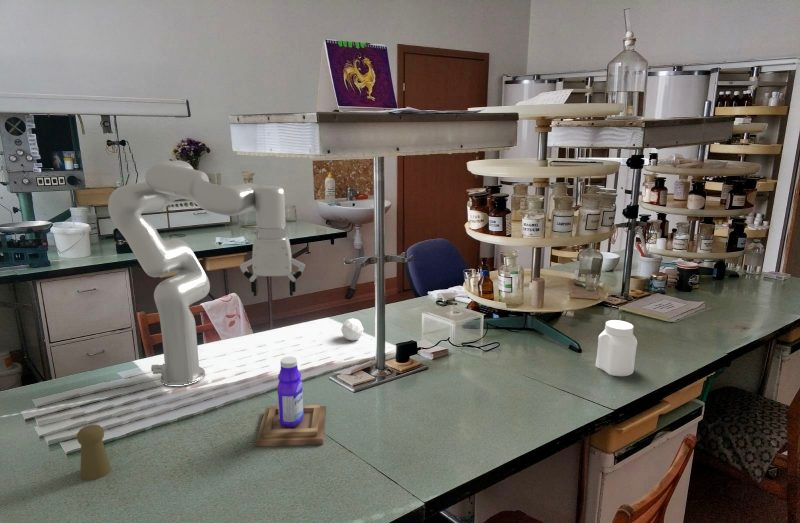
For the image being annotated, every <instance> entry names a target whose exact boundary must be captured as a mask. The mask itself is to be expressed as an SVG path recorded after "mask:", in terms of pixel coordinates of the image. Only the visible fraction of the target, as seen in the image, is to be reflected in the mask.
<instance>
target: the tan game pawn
mask: <svg viewBox="0 0 800 523" xmlns="http://www.w3.org/2000/svg"><path fill="white" fill-rule="evenodd" d="M104 436H105V431H104V429H103V427H102V426H101V425H100V424H88V425H86V426H84V427H82V428H80V429H79V430H78V431H77V434H76V438H77V442H78V444H79V445H80V478H81V479H82V480H84V481H96V480H99V479H101V478H103V477H105V476H106V475H108V474H109V473H110V471H111V469H112V467H111V465H110V461H109V458H108V455H107V452H106V448H105V445H104V442H103V439H104Z"/></svg>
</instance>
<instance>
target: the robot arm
mask: <svg viewBox="0 0 800 523" xmlns="http://www.w3.org/2000/svg"><path fill="white" fill-rule="evenodd" d="M144 178H145V181H144V182H136V183H129V184H125V185H122V186H120V187H118V188H116V189H114V190H113V191H112V192H111V194H110V195H109V198H108V203H107V204H108V205H107V208H108V214H109V217H110V219H111V221H112V223H113V224H114V227H116V228H117V230H118V231H119V232H120V234H121V235H122V236H123V238H124V239H125V241H126V242H127V244H128V245H129V248H130V249H131V251H132V253H133V254H134V256H135V258H136V260H137V262H138V263H139V265H140V266H141V269H143V271H144V272H145V274H146V275H147V276H149V277H152V278H158V277H159V278H160V277H163V276H166V275H169V274H172V273H174V276H172V277H168V278H166V279H164V280H162V281H161V282H159V284H158V285H156V287H155V288H154V292H153V299H154V303H155V306H156V309H157V311H158V317H159V323H160V329H161V330H160V332H161V339H162V340H161V341H162V349H163V360H164V363H162V364H151V367H150V370H151V371H150V372H152V374H153V375H158V374H160V383H161V382H162V383H164V384H167V385H184V384H189V383H192V382H195V381H197V380H199V379H201V378H202V377H204V375H205V376H206V371H205V369H204V368H202V367H201V366H200V363H199V362H200V361H199V351H198V339H197V338H198V337H197V336H198V335H197V327H196V326H197V325H196V320H195V317H194V314H193V313H192V311H191V310H190V306H191V305H192V304H195V303H196V302H198V301H201V300H202V299H204V298H205V297H207V296H208V294H209V292H210V288H211V283H210V280H209V277H208V275H207V274H206V272H205V270H204V269H203V267H202V265H201V263H200V261H199V260H198V258H197V256H196V254H195V253H194V251H193V249H192V248H191V246H190V244H188V243H186V242H185V240H182V239H179V238H171V239H166V240H163V238H162V236H161V235H160V234H159V232H158V230H157V229H156V227H155V226H154V224H152V223H151V222H150V221H149V220H148V219H146V218H145V217H143V216H142V214H143V213H148V212H153V211H157V210H158V211H159V210H161V209H164V208H167V207H168V206H169V205H171V204H172V203H173V202H175V201H176V200H177V199H178V198H179V199H182V200H187V201H190V202H193V203H194V204H195V205H196V206H198V207H199V208H200V209H202V210H204V211H206V212H210V213H215V214H218V215H222V216H227V217H235V216H238V215H242V214H247V213H251V212H254V211H255V221H256V227H253V228H251V229H250V233H251V234H253V235H255V236H256V237H255V238H254V239H253V243H252V256H251V257H252V258H251V259H249V260H247V261H244V262H242V263H241V264H240V265H239V269H240V270H241V272H242V274H243V275H244V277H245V278H246V279H248V280H249V282H250V287H251V293H253V297H256V296H258V294H259V280H258V279H257V278H258V277H286V276H287V278H289V280H290V281H289V284H288V285H289V296H291V297H292V296H294V293H296V291H297V287H296V284H297V279H299V278H300V277H301V276H302V274H303V272H304V270H305V268H306V264H305V263H303V262H302V261H299V260H297V259H295V258H293V256H292V255H293V254H292V249H291V242H290V239H289V237H288V236H287V227H286V199H285V198H286V196H285V189H284V188H283V187H281V186H280V185H262V184H258V183H255V182H254V183H252V182H246V183H245V182H244V183H240V184H236V185H235V184H234V185H229V186H227V185H226V186H225V185H220V184H216V183H212V182H210V179H209V176H208V174H207V173H205V172H204V171H202V170H198V169H194V167H193V166H192V165H191V164H190V163H188V162H187V161H183V160H170V161H169V160H168V161H161V162H160V161H159V162H156V163H153V164H152V165H150V166H149V167H148V169H147V170H146V172H145V175H144ZM293 265H294V266H295V267H297V268H298V270H297V271H296V272H294V271H293V270H292V269H293ZM250 266H252V272H251V271H249V270H248V267H250ZM204 378H205V377H204ZM162 383H161V384H162ZM164 384H163V385H164Z"/></svg>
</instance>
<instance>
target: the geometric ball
mask: <svg viewBox="0 0 800 523" xmlns="http://www.w3.org/2000/svg"><path fill="white" fill-rule="evenodd" d="M364 330H365V329H364V327H363V325H362V322H361V321H360V320H359V319H356V318H353V317H352V318H349V319H346V320H345V321H344V322H343V324H342V326H341V333H342V335H343V337H344V338H345V340H348V341H352V342H353V341H357V340H359V339H360V338H361V336H362V335H363V332H364Z"/></svg>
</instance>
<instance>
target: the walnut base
mask: <svg viewBox="0 0 800 523" xmlns="http://www.w3.org/2000/svg"><path fill="white" fill-rule="evenodd" d="M303 412H304V415H303V419H302V421H301V423H300V424H299V425H298V426H296V427H293V428H288V427H283V426H281V425H280V423H279V410H278V405H271V406H269V407H265V411H264V413H263V417H262V419H261V423H260V426H259V430H258V433H257V437H256V440H255V445H256V447H279V446H281V447H283V446H285V447H286V446H306V445H305V444H317V445H323V444H324V439H323V438H324V437H325V428H326V427H325V426H326V414H327V406H326V405H320V404H308V405H305V404H303Z"/></svg>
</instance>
